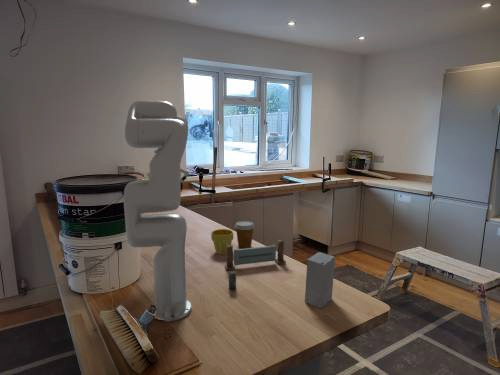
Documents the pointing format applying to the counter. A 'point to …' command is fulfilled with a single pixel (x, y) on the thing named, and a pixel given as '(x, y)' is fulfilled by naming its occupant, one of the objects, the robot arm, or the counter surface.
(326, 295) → the skincare box
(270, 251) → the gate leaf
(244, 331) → the counter surface
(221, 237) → the plant pot
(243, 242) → the disposable coffee cup
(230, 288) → the gate posts
